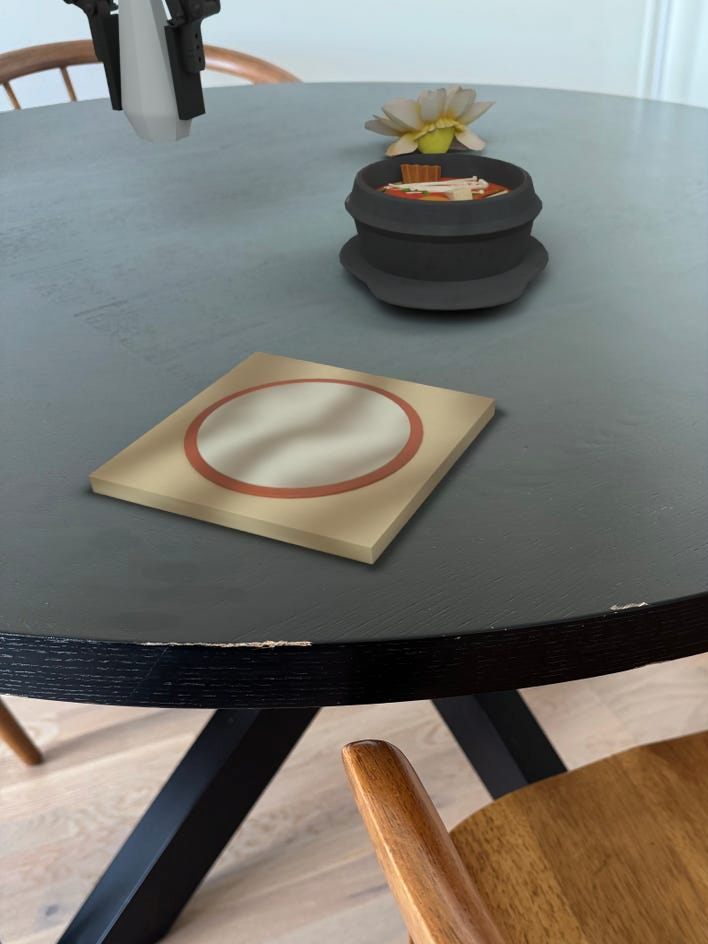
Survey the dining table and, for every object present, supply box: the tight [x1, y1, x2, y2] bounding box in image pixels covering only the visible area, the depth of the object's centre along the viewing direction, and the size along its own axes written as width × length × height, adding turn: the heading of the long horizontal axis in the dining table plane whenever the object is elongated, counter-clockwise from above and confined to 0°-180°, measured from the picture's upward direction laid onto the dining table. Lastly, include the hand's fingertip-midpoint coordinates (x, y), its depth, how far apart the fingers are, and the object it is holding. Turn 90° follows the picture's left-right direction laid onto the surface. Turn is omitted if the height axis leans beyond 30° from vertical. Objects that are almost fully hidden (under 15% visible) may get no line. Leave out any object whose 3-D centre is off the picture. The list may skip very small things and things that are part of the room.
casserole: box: [338, 152, 550, 311], centre depth 83 cm, size 25×19×8 cm
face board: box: [88, 350, 496, 565], centre depth 62 cm, size 19×19×2 cm
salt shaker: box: [117, 0, 193, 143], centre depth 76 cm, size 6×6×13 cm
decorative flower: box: [364, 84, 497, 158], centre depth 112 cm, size 15×11×10 cm
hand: (159, 111), depth 80 cm, fingers closed on salt shaker, 6 cm apart
